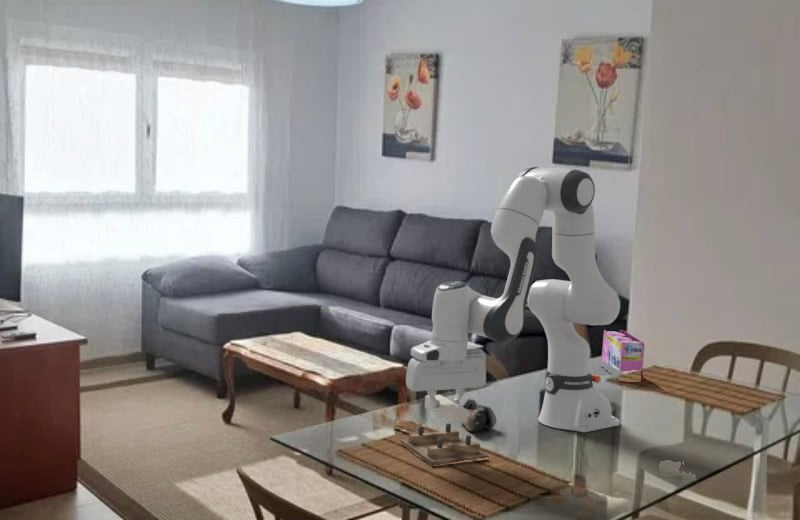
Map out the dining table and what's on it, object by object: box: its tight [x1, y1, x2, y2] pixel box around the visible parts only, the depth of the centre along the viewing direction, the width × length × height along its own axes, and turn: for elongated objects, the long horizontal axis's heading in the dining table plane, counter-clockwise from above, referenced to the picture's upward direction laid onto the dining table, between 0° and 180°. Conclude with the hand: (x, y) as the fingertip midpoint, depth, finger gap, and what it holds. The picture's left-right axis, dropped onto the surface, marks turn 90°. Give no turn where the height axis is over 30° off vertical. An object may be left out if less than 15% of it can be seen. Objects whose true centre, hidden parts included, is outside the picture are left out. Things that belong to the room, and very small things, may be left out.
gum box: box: [601, 329, 645, 371], centre depth 301 cm, size 24×8×14 cm, turn 3°
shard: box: [392, 419, 423, 432], centre depth 226 cm, size 11×8×2 cm
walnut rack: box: [399, 422, 489, 467], centre depth 210 cm, size 15×17×5 cm
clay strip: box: [424, 394, 467, 424], centre depth 209 cm, size 4×14×3 cm, turn 24°
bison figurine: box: [461, 398, 498, 432], centre depth 231 cm, size 12×7×10 cm
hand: (445, 407), depth 209 cm, fingers closed on clay strip, 4 cm apart
